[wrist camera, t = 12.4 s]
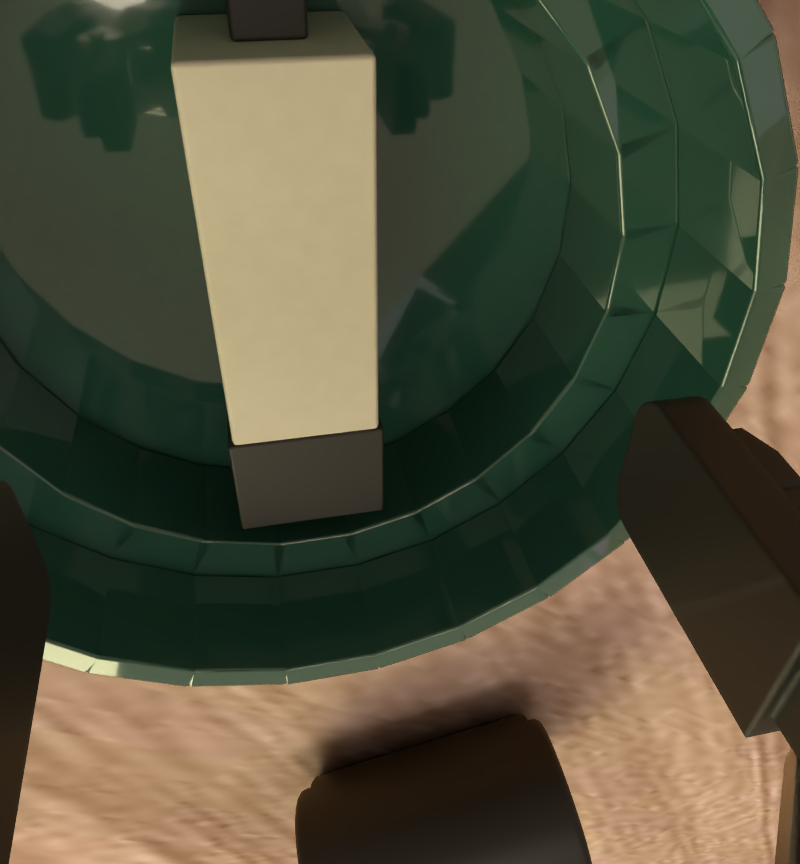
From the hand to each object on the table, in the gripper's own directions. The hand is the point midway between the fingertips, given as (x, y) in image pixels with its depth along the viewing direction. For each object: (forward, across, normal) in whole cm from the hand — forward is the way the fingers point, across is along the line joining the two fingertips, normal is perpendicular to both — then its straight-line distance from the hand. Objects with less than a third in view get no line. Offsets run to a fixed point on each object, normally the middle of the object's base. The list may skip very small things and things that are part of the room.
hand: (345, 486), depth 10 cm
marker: (+8, 0, +1) cm, 8 cm away
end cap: (+8, -4, +24) cm, 26 cm away
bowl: (+9, 0, 0) cm, 9 cm away
